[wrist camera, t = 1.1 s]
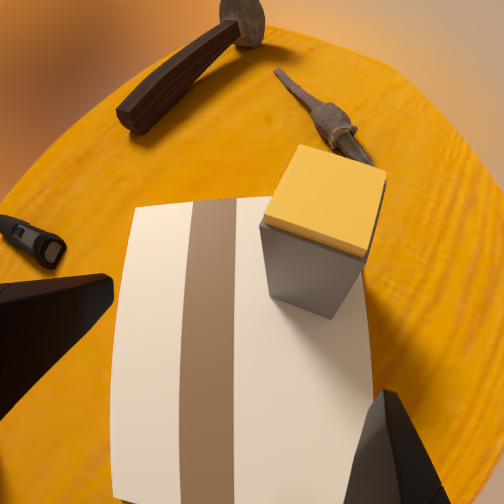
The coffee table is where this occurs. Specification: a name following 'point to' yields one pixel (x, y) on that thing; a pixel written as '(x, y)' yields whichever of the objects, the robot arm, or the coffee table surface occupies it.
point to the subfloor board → (229, 369)
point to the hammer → (191, 64)
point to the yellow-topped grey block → (320, 229)
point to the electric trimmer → (33, 241)
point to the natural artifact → (329, 122)
